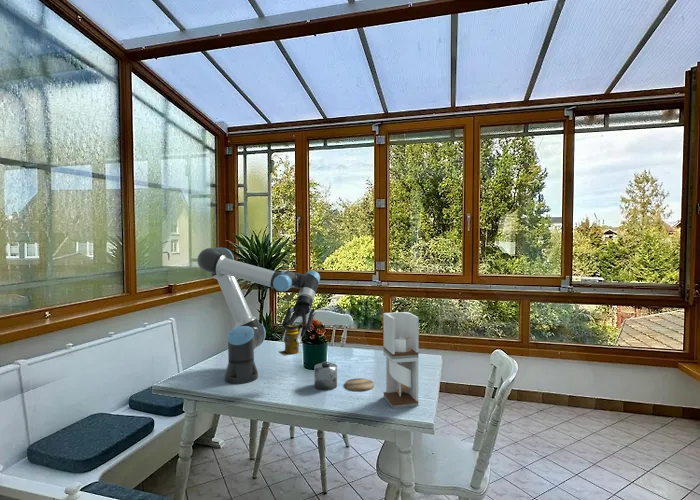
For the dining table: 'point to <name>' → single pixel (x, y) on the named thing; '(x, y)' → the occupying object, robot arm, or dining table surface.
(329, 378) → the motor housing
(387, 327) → the display case
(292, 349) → the condiment
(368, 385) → the tan plate
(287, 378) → the dining table surface
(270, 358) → the dining table surface
